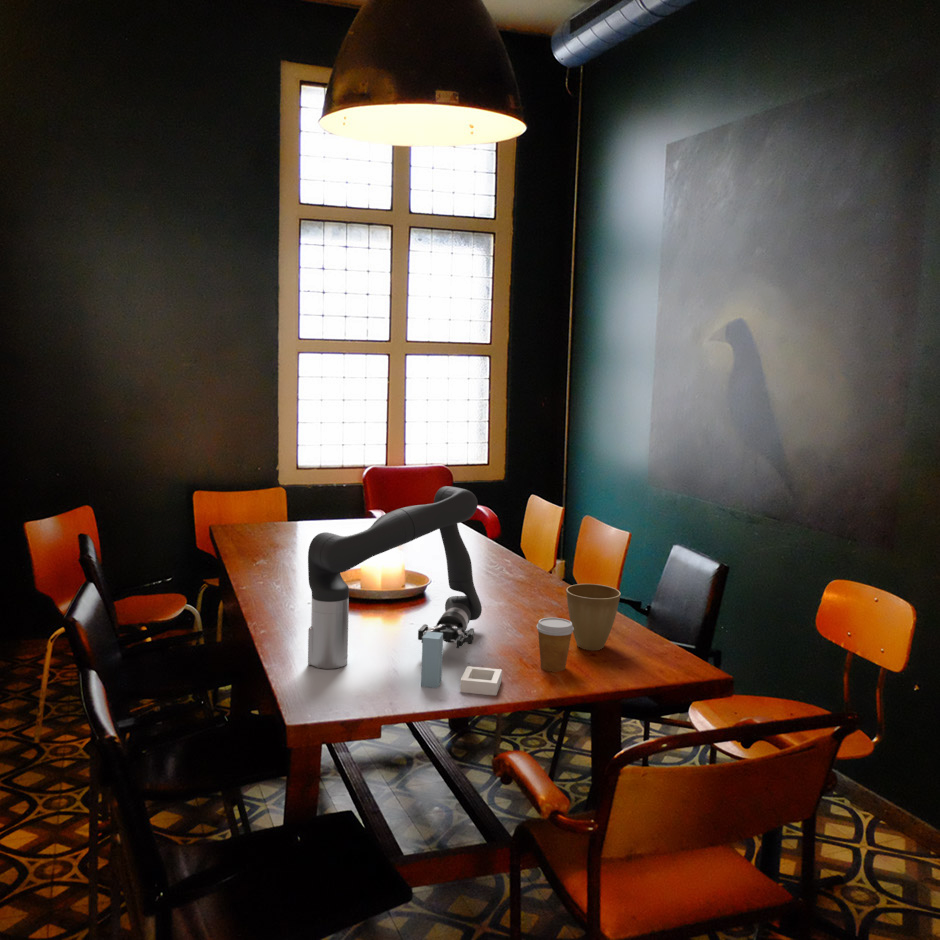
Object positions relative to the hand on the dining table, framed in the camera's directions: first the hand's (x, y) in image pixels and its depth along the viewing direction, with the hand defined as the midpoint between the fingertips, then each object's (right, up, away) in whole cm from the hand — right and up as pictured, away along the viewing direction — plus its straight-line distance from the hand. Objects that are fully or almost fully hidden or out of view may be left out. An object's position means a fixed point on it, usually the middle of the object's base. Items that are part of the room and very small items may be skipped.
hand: (441, 642), depth 220 cm
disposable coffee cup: (+29, -7, +4) cm, 30 cm away
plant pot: (+41, -6, +22) cm, 47 cm away
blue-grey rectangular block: (-2, -8, -10) cm, 13 cm away
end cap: (+10, -8, -11) cm, 17 cm away
